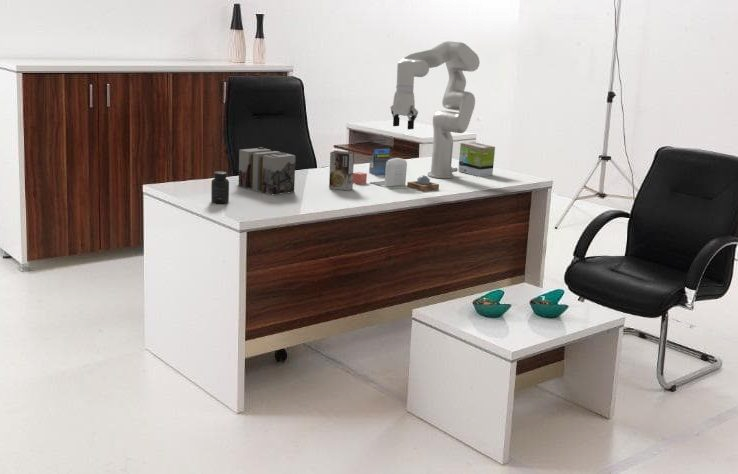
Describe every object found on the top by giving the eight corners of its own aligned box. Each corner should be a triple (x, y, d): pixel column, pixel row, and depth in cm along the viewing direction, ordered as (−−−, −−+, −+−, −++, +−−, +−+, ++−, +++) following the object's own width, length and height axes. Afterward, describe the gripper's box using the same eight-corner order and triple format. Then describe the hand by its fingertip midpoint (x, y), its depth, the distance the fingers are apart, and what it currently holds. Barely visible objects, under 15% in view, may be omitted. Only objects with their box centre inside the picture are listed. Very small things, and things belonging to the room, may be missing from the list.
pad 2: (399, 184, 414) (400, 183, 414) (409, 186, 410) (409, 185, 410) (379, 186, 407) (379, 185, 407) (389, 188, 402) (389, 187, 402)
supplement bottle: (211, 200, 359) (212, 170, 356) (229, 201, 359) (229, 171, 356) (210, 204, 352) (210, 173, 349) (228, 204, 353) (228, 174, 350)
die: (358, 181, 415) (358, 171, 414) (366, 183, 412) (366, 173, 411) (352, 182, 411) (352, 172, 410) (360, 184, 409) (360, 174, 408)
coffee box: (353, 188, 398) (355, 152, 394) (347, 191, 392) (349, 154, 388) (333, 186, 401) (335, 149, 397) (328, 188, 395) (330, 151, 391)
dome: (423, 185, 411) (424, 174, 410) (431, 187, 407) (432, 176, 405) (414, 186, 407) (415, 174, 406) (422, 188, 403) (423, 177, 402)
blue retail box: (384, 172, 442) (385, 147, 439) (388, 173, 439) (390, 148, 436) (368, 173, 437) (370, 147, 434) (372, 174, 434) (374, 149, 431)
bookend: (261, 182, 401) (262, 145, 397) (298, 192, 384) (300, 154, 380) (232, 185, 390) (233, 148, 386) (270, 196, 373) (271, 157, 369)
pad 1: (389, 181, 420) (390, 180, 420) (399, 183, 415) (399, 182, 415) (369, 183, 412) (370, 182, 412) (379, 185, 407) (379, 185, 407)
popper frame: (423, 185, 414) (423, 180, 414) (438, 189, 407) (439, 184, 406) (407, 187, 408) (407, 182, 407) (422, 191, 400) (422, 186, 400)
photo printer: (401, 183, 413) (402, 156, 410) (406, 185, 410) (408, 158, 407) (382, 185, 407) (384, 158, 404) (388, 187, 404) (390, 159, 401)
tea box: (457, 171, 455) (459, 142, 452) (471, 170, 462) (473, 141, 458) (479, 177, 444) (482, 147, 441) (493, 175, 451) (495, 146, 447)
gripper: (385, 87, 406) (384, 125, 411) (411, 91, 393) (410, 131, 398) (398, 86, 411) (396, 124, 415) (424, 91, 398) (422, 129, 403)
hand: (403, 127), depth 407 cm, fingers open, 9 cm apart
